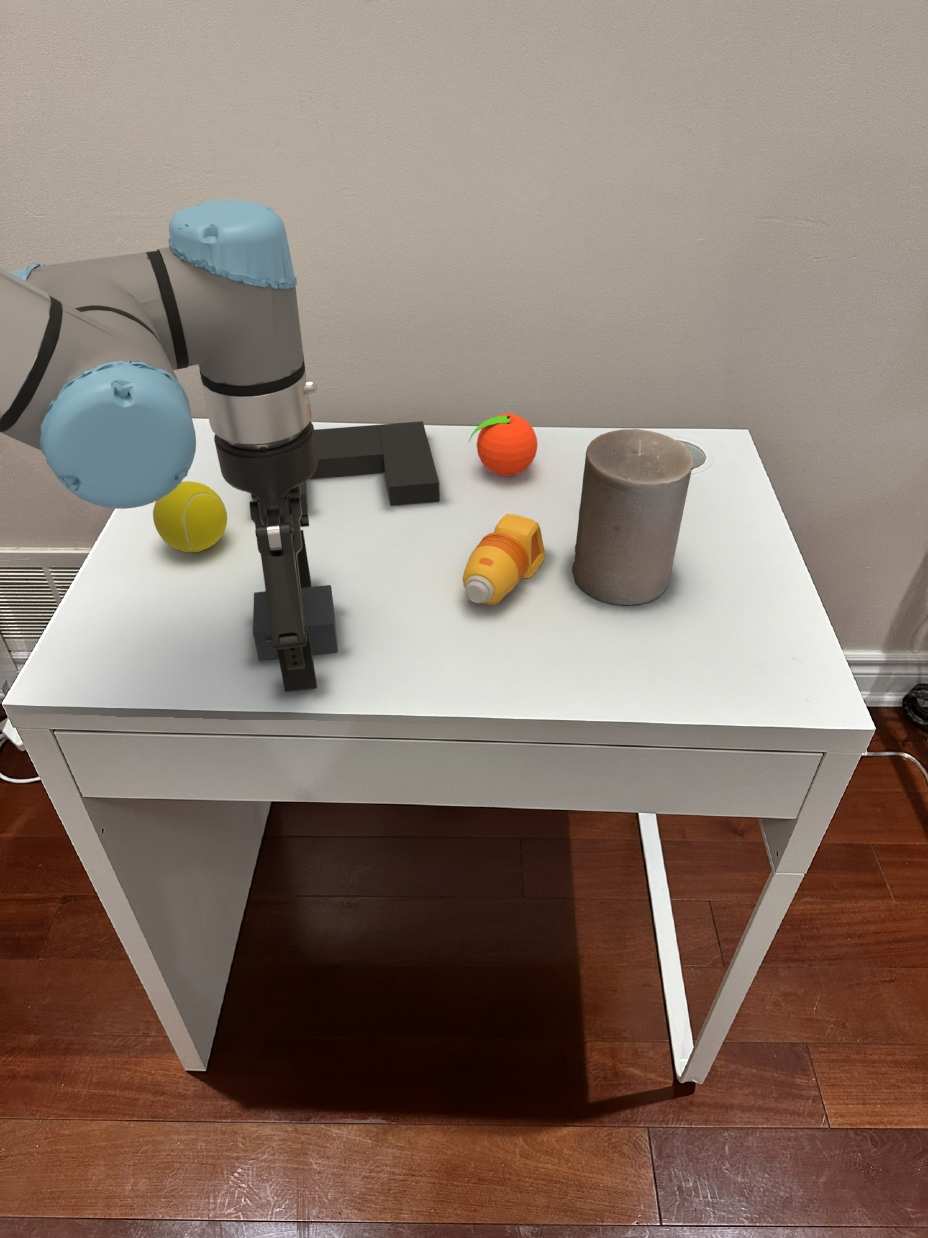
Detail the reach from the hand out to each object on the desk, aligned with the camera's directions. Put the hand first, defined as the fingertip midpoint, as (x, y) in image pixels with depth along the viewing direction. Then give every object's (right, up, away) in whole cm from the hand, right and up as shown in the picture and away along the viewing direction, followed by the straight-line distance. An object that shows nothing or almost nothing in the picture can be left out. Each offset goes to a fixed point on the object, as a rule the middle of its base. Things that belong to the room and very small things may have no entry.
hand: (299, 634), depth 80 cm
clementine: (+19, +18, +22) cm, 35 cm away
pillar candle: (+31, +6, +7) cm, 32 cm away
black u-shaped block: (+1, +18, +21) cm, 28 cm away
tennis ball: (-13, +9, +11) cm, 19 cm away
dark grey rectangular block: (0, 0, 0) cm, 0 cm away
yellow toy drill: (+19, +5, +6) cm, 21 cm away
